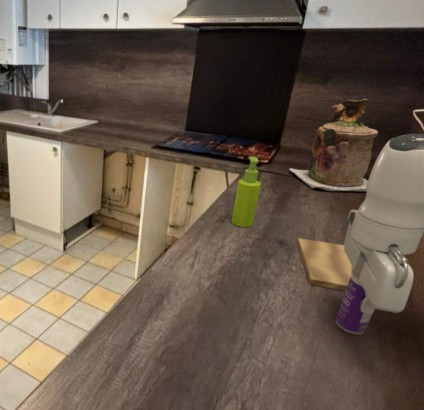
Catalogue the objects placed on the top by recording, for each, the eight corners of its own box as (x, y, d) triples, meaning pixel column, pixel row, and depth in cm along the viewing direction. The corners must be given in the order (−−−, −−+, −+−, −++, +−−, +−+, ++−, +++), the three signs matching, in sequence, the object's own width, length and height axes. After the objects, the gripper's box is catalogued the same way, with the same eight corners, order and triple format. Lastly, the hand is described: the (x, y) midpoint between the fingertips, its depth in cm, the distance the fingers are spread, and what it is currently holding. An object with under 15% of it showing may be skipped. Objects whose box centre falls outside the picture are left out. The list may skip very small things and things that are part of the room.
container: (329, 320, 69) (352, 253, 63) (346, 314, 70) (370, 249, 64) (353, 337, 65) (380, 267, 59) (371, 330, 66) (399, 262, 60)
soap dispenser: (250, 218, 111) (263, 155, 103) (253, 228, 104) (267, 162, 96) (230, 216, 112) (241, 154, 104) (232, 226, 106) (244, 161, 98)
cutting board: (359, 252, 92) (360, 247, 91) (385, 299, 75) (388, 293, 74) (297, 242, 97) (298, 238, 96) (309, 284, 80) (311, 278, 79)
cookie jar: (347, 172, 151) (371, 94, 138) (386, 194, 128) (419, 102, 116) (286, 171, 153) (304, 93, 140) (313, 192, 131) (338, 101, 118)
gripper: (438, 269, 50) (403, 344, 55) (387, 212, 67) (364, 273, 73) (383, 260, 52) (354, 333, 58) (347, 207, 69) (328, 267, 75)
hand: (359, 299), depth 65 cm, fingers open, 5 cm apart
